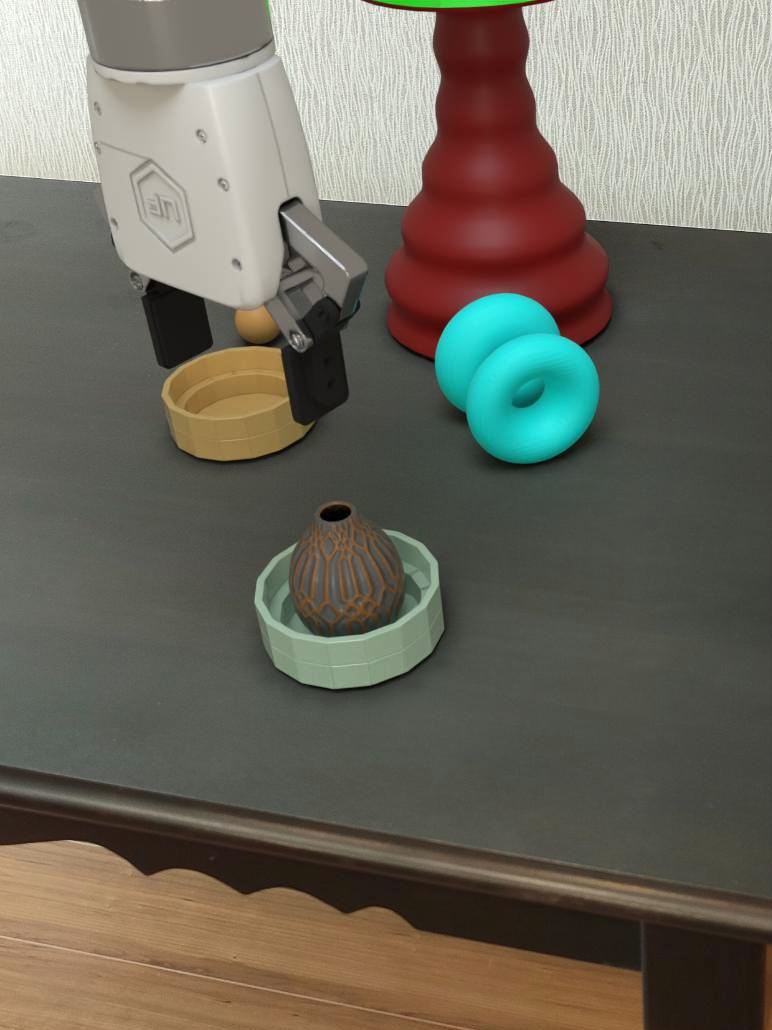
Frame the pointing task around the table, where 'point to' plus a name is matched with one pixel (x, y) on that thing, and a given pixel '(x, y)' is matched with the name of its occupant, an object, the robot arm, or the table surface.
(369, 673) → the near bowl
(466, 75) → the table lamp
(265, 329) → the figurine
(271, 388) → the far bowl
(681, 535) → the table surface
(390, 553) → the vase
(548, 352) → the donuts
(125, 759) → the table surface
